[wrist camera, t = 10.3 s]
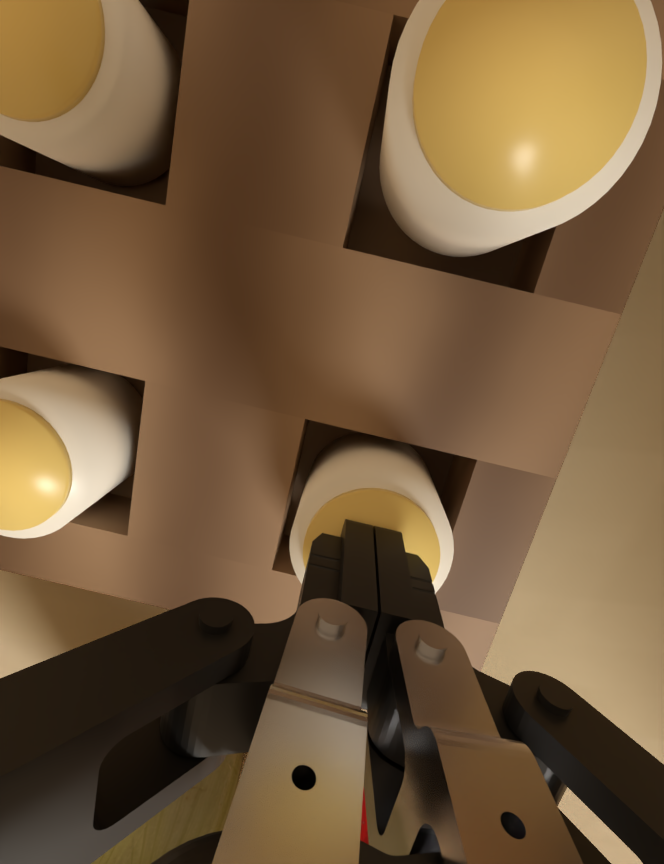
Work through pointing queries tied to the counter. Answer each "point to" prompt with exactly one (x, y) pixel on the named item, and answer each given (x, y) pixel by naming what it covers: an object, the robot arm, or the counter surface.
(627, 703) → the counter surface
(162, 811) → the fennel bulb
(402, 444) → the button
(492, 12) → the button
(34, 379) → the button
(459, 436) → the board
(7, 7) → the button
